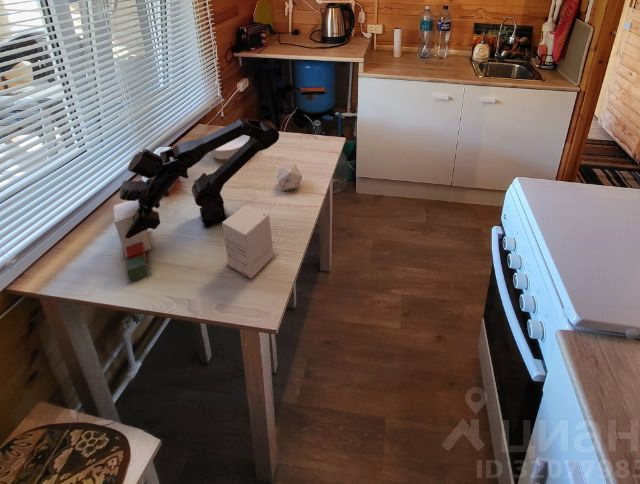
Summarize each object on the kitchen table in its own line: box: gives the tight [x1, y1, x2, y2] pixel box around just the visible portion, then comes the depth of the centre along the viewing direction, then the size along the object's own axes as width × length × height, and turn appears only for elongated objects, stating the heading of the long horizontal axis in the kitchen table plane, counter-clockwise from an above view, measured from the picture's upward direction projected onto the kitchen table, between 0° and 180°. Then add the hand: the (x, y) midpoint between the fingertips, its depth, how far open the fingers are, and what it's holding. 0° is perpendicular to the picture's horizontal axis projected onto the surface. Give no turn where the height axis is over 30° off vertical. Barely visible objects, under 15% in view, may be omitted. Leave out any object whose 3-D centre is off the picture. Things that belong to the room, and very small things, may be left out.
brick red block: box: [126, 242, 147, 262], centre depth 105 cm, size 4×4×4 cm
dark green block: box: [126, 254, 149, 283], centre depth 101 cm, size 4×4×4 cm
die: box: [276, 163, 303, 191], centre depth 136 cm, size 8×9×10 cm
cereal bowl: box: [208, 135, 250, 160], centre depth 156 cm, size 17×17×7 cm
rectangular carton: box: [221, 203, 275, 279], centre depth 103 cm, size 9×9×15 cm
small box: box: [113, 200, 152, 259], centre depth 109 cm, size 8×6×13 cm
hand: (126, 227), depth 108 cm, fingers closed on small box, 8 cm apart
